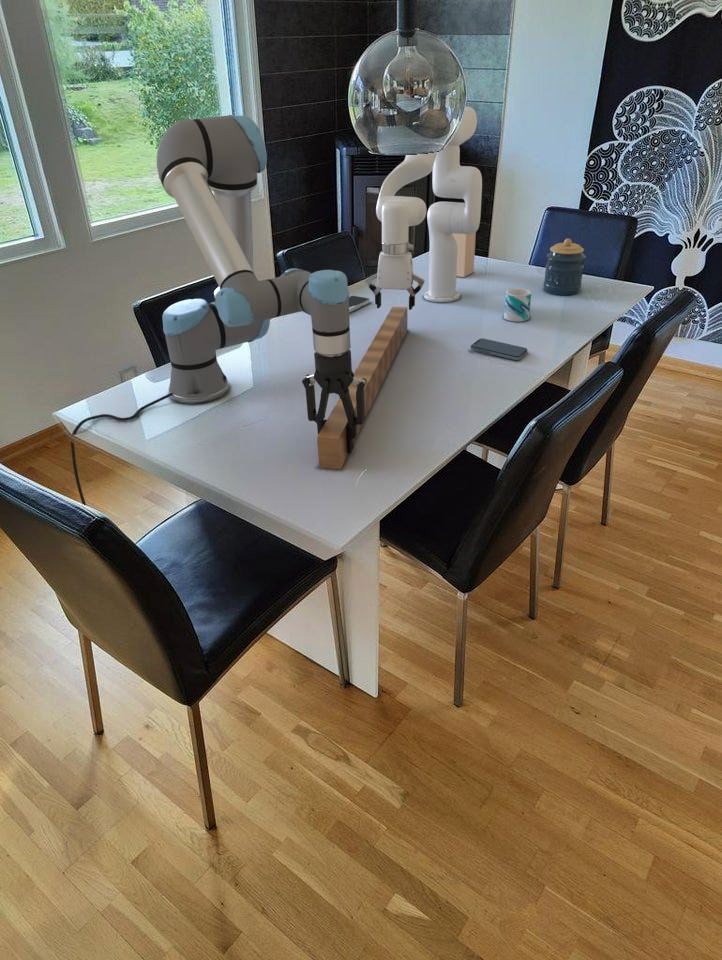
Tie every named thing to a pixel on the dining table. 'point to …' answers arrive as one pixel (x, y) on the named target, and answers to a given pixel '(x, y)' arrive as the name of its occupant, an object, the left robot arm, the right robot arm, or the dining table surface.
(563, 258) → the canister
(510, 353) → the smartphone
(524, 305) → the mug
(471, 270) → the tan upright wooden block
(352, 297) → the smartphone
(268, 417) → the dining table surface
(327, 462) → the post
